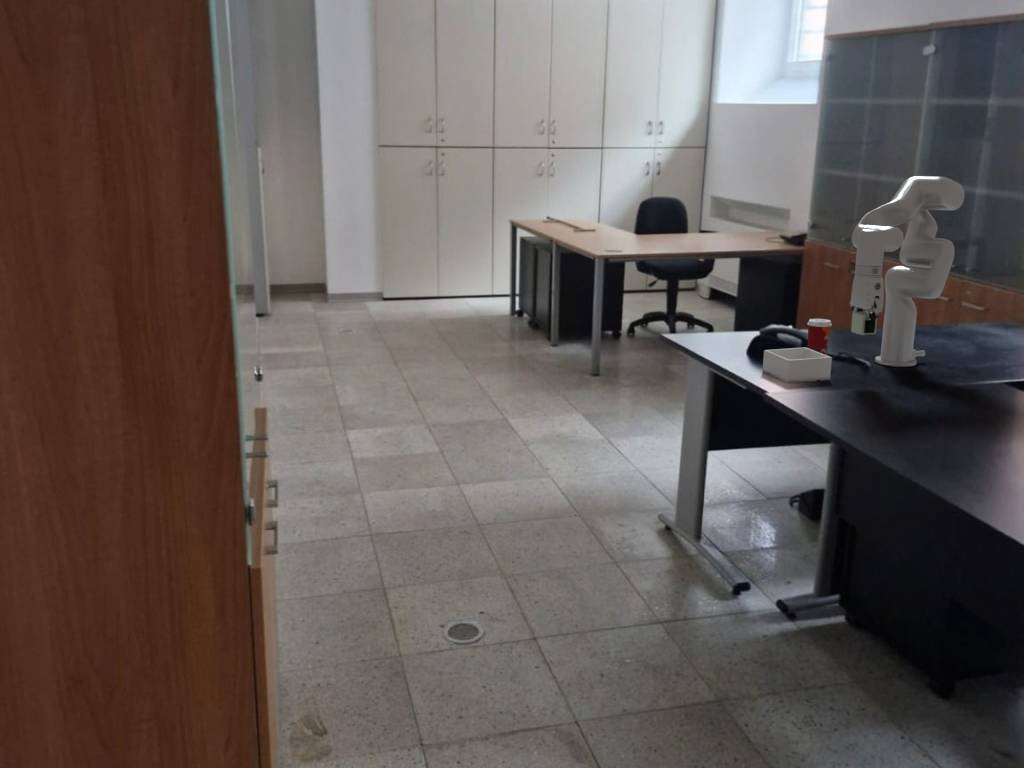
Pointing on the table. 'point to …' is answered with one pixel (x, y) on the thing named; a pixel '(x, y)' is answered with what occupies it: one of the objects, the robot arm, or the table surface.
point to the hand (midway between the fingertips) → (863, 330)
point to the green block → (860, 323)
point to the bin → (797, 365)
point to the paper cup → (819, 335)
